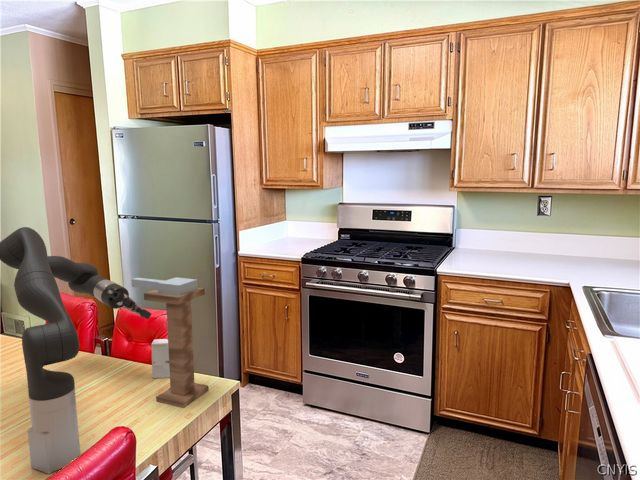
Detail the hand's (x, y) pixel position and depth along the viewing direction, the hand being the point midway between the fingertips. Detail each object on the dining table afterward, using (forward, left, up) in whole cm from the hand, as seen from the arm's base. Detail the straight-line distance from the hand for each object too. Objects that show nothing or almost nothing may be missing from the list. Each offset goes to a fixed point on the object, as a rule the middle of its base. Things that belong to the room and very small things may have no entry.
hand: (141, 310), depth 143 cm
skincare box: (+7, -1, -25) cm, 26 cm away
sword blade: (-2, -10, +9) cm, 13 cm away
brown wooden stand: (-2, -16, -24) cm, 29 cm away
